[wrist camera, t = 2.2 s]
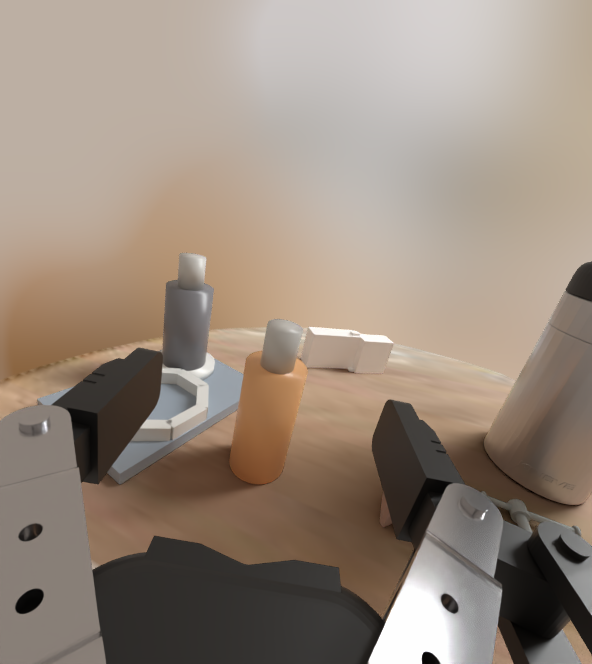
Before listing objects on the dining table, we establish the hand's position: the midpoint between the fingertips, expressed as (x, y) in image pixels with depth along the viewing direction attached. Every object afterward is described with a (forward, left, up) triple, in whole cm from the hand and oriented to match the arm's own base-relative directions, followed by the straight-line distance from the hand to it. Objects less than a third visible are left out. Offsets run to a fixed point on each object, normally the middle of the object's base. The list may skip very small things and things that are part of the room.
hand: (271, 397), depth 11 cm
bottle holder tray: (-9, -16, -13) cm, 23 cm away
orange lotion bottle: (-9, -5, -13) cm, 17 cm away
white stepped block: (-31, -6, -14) cm, 35 cm away
